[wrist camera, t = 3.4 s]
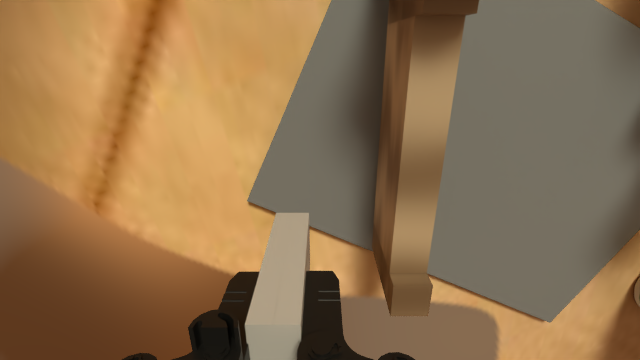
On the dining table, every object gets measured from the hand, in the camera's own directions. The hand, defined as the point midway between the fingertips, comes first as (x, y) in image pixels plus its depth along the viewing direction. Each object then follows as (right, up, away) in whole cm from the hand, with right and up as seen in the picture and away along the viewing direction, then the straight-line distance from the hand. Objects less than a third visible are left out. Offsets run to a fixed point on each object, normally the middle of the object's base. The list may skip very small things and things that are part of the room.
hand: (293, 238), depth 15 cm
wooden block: (+6, +5, +5) cm, 9 cm away
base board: (+13, +5, +7) cm, 15 cm away
